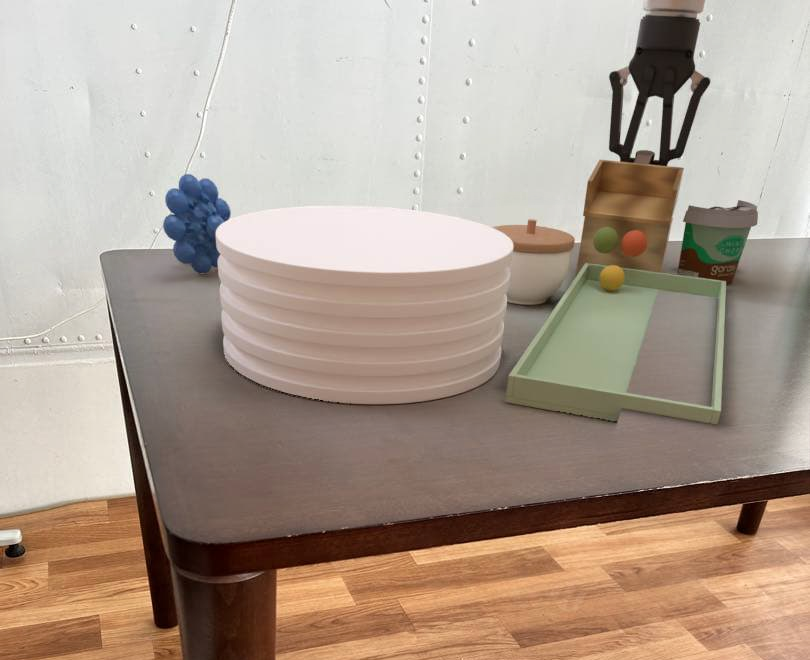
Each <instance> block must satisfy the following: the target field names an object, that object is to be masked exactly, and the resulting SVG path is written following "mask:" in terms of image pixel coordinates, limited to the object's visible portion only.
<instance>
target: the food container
mask: <svg viewBox="0 0 810 660" xmlns="http://www.w3.org/2000/svg"><path fill="white" fill-rule="evenodd" d="M757 210H758V206H757V205H756V204H754V203H752V202H749V201H746V200H745V201H744V200H740V199H738V201H737V204H736V205H735V206H732V207H722V206H712V207H709V208H706V207H701V206H694V205H688V207H687V210H685V214H684V216H683V220H682V222H683V223H685V224H684V229H683V230H684V231H683V236H682V242H681V249H680V256H679V260H678V261H679V262H678V266H677V267H678V268H677V273H676V275H682V276H690V277H698V278H705V279H713V280H721V281H726V286H729V285H731V284H732V283H733V281H734V278H735V275H736V272H737V269H738V267H739V263H740V261H741V257H742V255H743V253H744V252H743V251H744V249H745V247H746V243H747V240H748V237H749V234H750V232H751V228H752V227H755V226H757V225H758V220H759V211H757Z"/></svg>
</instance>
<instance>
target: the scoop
mask: <svg viewBox="0 0 810 660" xmlns="http://www.w3.org/2000/svg"><path fill="white" fill-rule="evenodd" d="M655 156H656V153H655V152H654V151H653V150H648V149H641V150H637V151H636V152H635V157H634V158H635V161H634V163H629V162H620V160H609V159H599V160H598V162H597V164H596V165H595V167H594V169H593V170H592V173H590V176H589V178H588V179H587V183H586V189H585V190H586V191H585V197H584V205H583V213H582V217H585V216H587V217H596V218H605V219H613V220H622V221H631V222H639V223H648V224H656V225H665V226H670V224H671V220H672V218H673V216H674V213H675V209H676V206H677V202H678V197H679V192H680V188H681V183H682V179H683V175H684V170H685V168H684V167H680V166H669V165H667V166H660V165H653V161H654V160H655Z"/></svg>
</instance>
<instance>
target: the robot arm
mask: <svg viewBox="0 0 810 660" xmlns="http://www.w3.org/2000/svg"><path fill="white" fill-rule="evenodd" d="M705 3H706V0H643V4H642V9H643V11H645V12H646V13H645V15H644V16H642V18H641V19H640V22H639V28H638V31H637V32H638V33H637V39H636V45H635V51H634V54H633V56H632V58H631V59H630V61H629V63H628V65H627V66H624V67H623V68H621V69H619V70H613V71H611V72H610V73H609V75H608V79H609V83H610V86H611V87H610V88H611V90H612V91H611V92H612V94H611V95H612V97H611V109H610V110H611V111H610V124H609V125H610V126H609V137H608V139H609V140H608V150H609V152H610V153H614V154H615V155H617V156H618V157H619V162H629V163H634V161H635V157H631V156H632V153H633V149H634V146H635V143H636V140H637V136H638V133H639V130H640V126H641V124H642V120H643V117H644V113H645V110H646V107H647V104H648V101H649V98H652V97H657V98H660V99H662V110H661V111H662V112H661V128H660V142H659V154H658V155H659V156H658V159H654V161H653V165H660V166H669V162H670V161H672V160H676V159H680V158H682V157H683V155H684V153H685V149H686V146H687V143H688V140H689V137H690V134H691V130H692V128H693V125H694V121H695V119H696V116H697V111H698V108H699V105H700V102H701V99H702V97H703V95H704V93H705V92H706V90H707V89H708V87H709V86H710V85H711V83H712V82H711V81H712V80H711V78H710V77H708V76H704V75H703V74H701V72H699V71H697V70H696V63H695V58H694V57H695V52H696V47H697V42H698V38H699V37H698V36H699V32H700V27H701V21H700V19H699V18H698V15H699V14H701V13H703V12H704V9H705ZM629 76H631V78H632V80H633V83H634V86H635V87H636V90H637V91H638V94H637V98H636V101H635V105H634V109H633V112H632V116H631V119H630V123H629V125H628V129H627V132H626V136H625V139H624V142H623V143H621V136H622V135H621V133H622V132H621V131H622V120H623V119H622V118H623V105H624V93H625V91H624V87H625V86H627V84H628V78H629ZM689 79H690V80H691V84H690V86H689V88H690V91H691V92H692V95H690V96H691V97H690V99H689V101H688V105H687V108H686V112H685V114H684V118H683V122H682V125H681V129H680V132H679V135H678V137H677V141H676V144H675V147H674V148H672V149H671V143H672V142H671V141H672V127H673V114H674V103H675V95H676V94H677V93H678V92H679V91H680V89H681V88H682V87H683V86H684V85H685V84H686V83H687V82H688V81H689Z"/></svg>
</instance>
